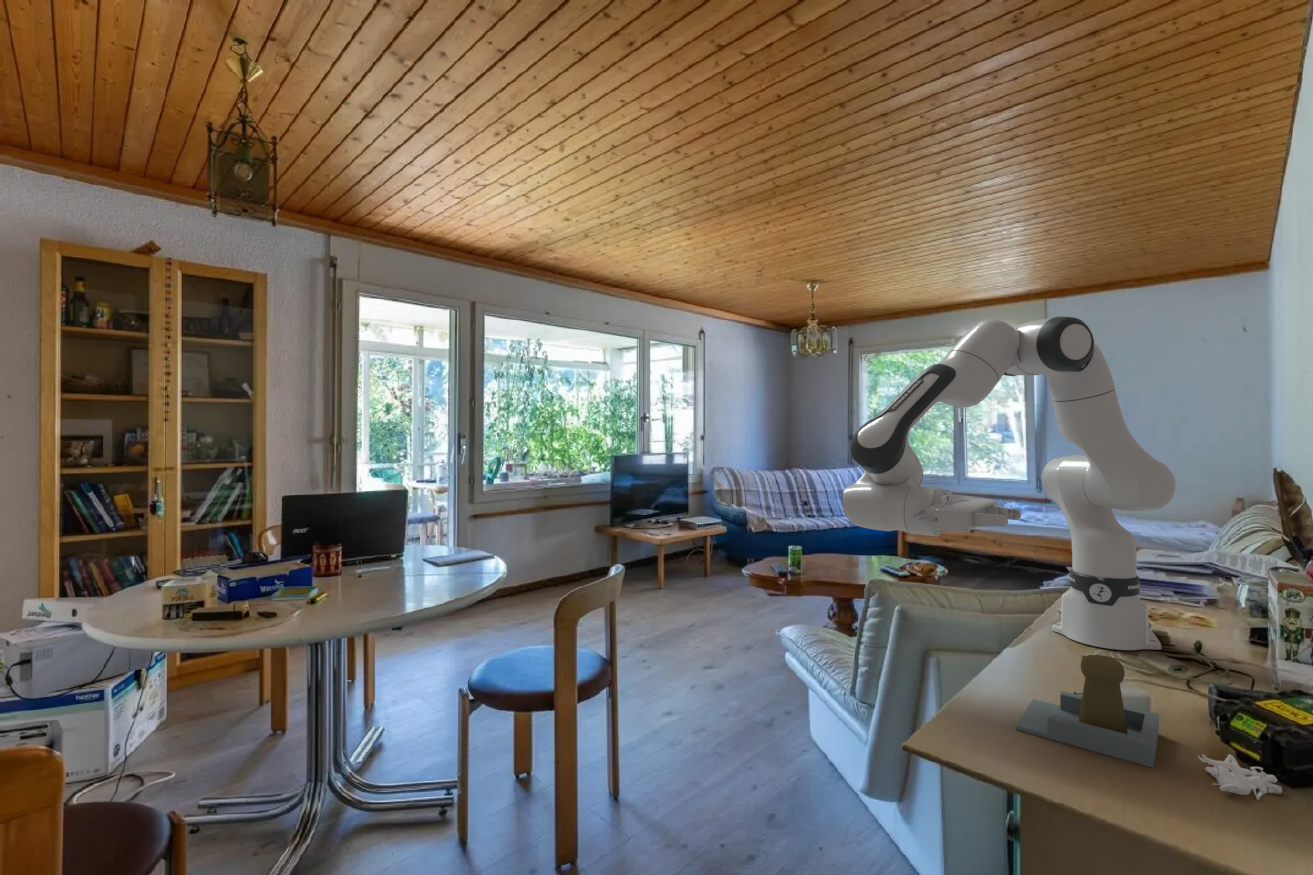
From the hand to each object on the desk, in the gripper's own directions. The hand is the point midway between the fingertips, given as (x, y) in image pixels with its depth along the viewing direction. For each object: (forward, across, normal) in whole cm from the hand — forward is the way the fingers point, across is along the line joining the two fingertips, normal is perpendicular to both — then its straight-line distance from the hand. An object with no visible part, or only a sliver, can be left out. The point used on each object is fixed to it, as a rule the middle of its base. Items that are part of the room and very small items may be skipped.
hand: (1013, 517), depth 104 cm
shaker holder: (+11, -8, +30) cm, 33 cm away
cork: (+13, -8, +30) cm, 33 cm away
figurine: (+28, -12, +30) cm, 43 cm away
